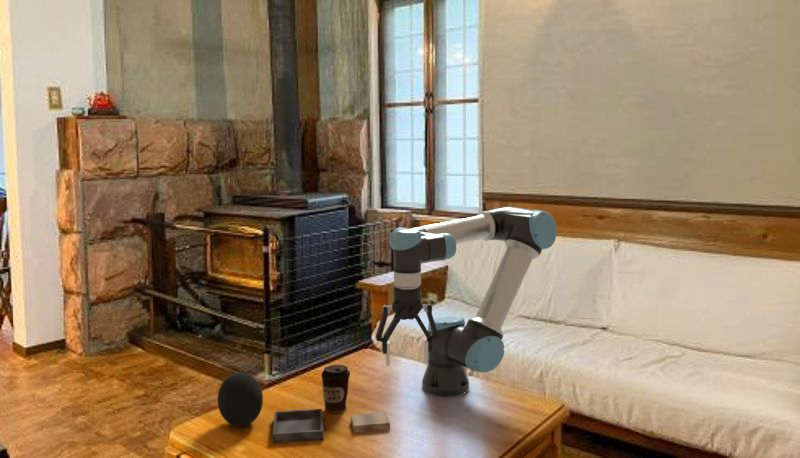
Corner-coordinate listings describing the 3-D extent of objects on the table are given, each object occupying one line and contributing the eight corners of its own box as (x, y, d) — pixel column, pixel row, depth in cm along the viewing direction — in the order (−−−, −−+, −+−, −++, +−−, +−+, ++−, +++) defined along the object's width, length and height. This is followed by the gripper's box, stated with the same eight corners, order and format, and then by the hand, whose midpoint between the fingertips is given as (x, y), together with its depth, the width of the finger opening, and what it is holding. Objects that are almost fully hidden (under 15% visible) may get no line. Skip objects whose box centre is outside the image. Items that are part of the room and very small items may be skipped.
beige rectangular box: (385, 420, 188) (385, 412, 188) (389, 431, 181) (389, 422, 181) (350, 423, 186) (350, 415, 186) (354, 434, 179) (354, 425, 179)
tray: (321, 416, 189) (321, 408, 189) (323, 439, 175) (323, 431, 175) (275, 419, 187) (274, 411, 187) (272, 443, 173) (272, 434, 173)
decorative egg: (247, 437, 176) (246, 384, 174) (209, 430, 181) (207, 378, 178) (271, 418, 188) (270, 369, 186) (235, 412, 192) (233, 363, 190)
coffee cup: (345, 417, 189) (344, 374, 187) (317, 414, 191) (317, 372, 189) (353, 405, 198) (353, 364, 196) (327, 402, 199) (326, 362, 197)
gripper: (444, 281, 185) (443, 356, 188) (364, 284, 181) (365, 360, 185) (450, 287, 177) (449, 366, 181) (367, 290, 174) (368, 370, 177)
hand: (406, 363), depth 183 cm, fingers open, 10 cm apart
